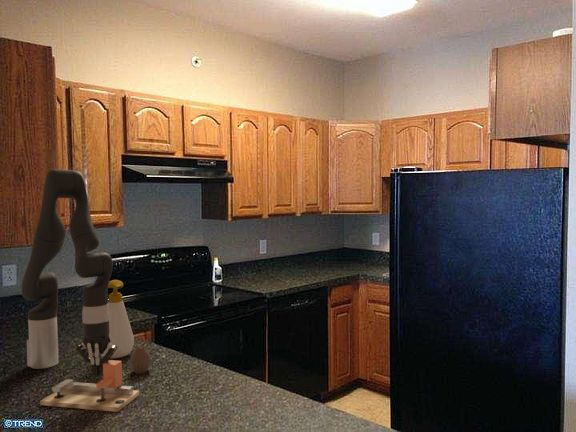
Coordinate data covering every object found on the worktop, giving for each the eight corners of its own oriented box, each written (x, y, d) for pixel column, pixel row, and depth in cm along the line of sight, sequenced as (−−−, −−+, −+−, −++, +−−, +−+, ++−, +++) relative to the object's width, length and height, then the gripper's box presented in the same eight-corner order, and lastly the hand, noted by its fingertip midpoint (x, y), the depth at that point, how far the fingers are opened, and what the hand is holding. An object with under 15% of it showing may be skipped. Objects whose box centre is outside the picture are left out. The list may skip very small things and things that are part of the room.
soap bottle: (103, 364, 176) (100, 284, 175) (96, 356, 185) (94, 280, 183) (139, 357, 183) (137, 280, 182) (131, 350, 192) (129, 276, 190)
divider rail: (48, 397, 145) (48, 387, 145) (65, 387, 152) (65, 377, 152) (119, 403, 140) (118, 392, 140) (133, 393, 147) (132, 382, 147)
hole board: (40, 404, 143) (40, 400, 143) (67, 388, 154) (66, 384, 154) (117, 411, 137) (117, 407, 137) (139, 394, 149) (139, 390, 149)
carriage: (94, 400, 142) (93, 369, 141) (110, 388, 150) (109, 360, 149) (106, 401, 141) (105, 370, 140) (122, 389, 149) (121, 360, 148)
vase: (129, 376, 164) (129, 350, 164) (130, 369, 171) (130, 344, 171) (151, 373, 166) (150, 348, 166) (151, 367, 173) (150, 342, 172)
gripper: (68, 321, 145) (70, 379, 146) (108, 323, 142) (110, 382, 143) (84, 315, 152) (86, 370, 153) (122, 317, 150) (124, 373, 150)
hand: (97, 376), depth 148 cm, fingers closed
